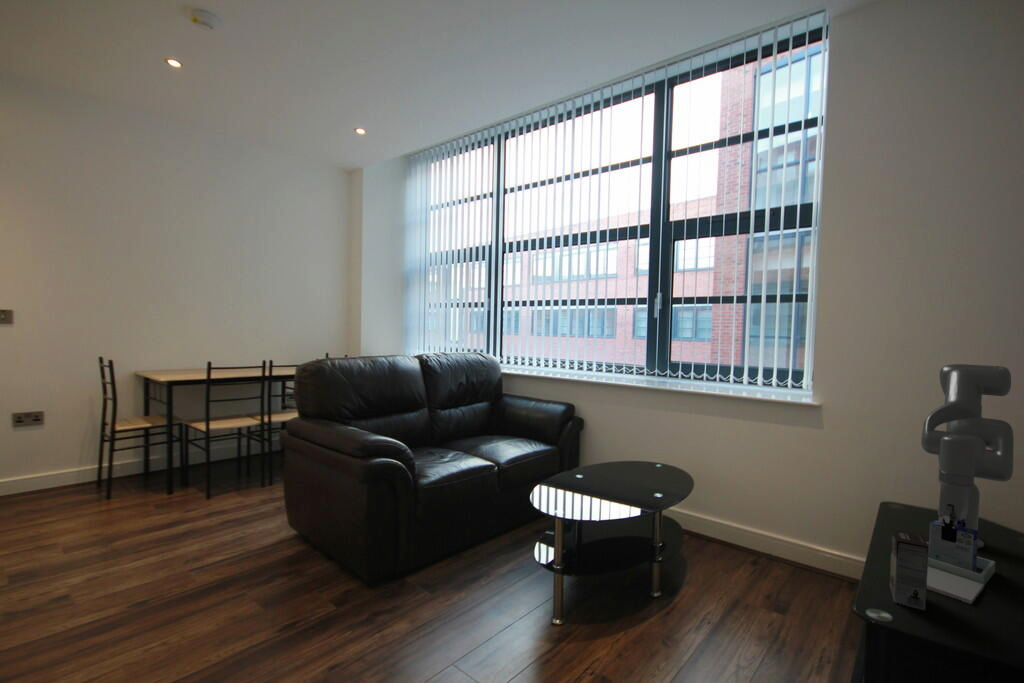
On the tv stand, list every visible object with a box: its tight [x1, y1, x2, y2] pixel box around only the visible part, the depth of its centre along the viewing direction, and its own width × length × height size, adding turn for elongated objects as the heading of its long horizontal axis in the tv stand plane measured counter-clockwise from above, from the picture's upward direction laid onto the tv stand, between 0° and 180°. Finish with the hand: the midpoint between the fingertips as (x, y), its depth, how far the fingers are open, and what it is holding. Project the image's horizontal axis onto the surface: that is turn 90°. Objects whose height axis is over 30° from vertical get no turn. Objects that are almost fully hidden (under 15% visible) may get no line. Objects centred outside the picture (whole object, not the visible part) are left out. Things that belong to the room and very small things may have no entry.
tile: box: [926, 567, 985, 605], centre depth 129 cm, size 14×14×1 cm
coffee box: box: [889, 528, 929, 611], centre depth 121 cm, size 9×6×16 cm
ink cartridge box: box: [928, 519, 979, 573], centre depth 139 cm, size 10×6×14 cm, turn 37°
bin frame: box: [926, 541, 996, 586], centre depth 139 cm, size 15×16×3 cm
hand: (953, 537), depth 138 cm, fingers open, 9 cm apart
